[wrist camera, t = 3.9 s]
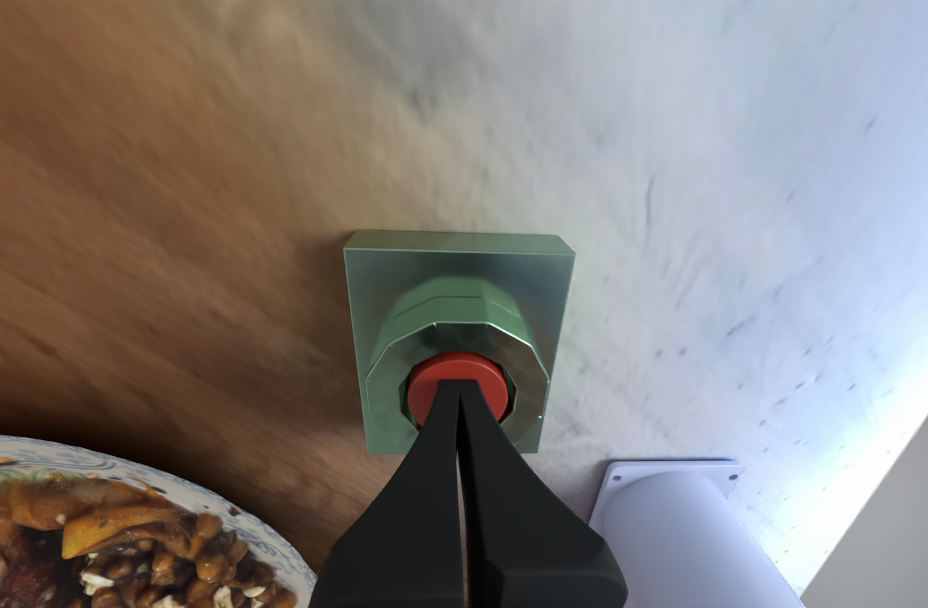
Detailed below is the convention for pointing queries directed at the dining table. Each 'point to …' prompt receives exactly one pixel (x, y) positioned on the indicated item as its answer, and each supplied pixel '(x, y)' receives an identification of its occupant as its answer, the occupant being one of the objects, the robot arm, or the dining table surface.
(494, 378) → the button
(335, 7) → the dining table surface
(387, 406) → the control block
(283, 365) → the dining table surface
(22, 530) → the plate of food
